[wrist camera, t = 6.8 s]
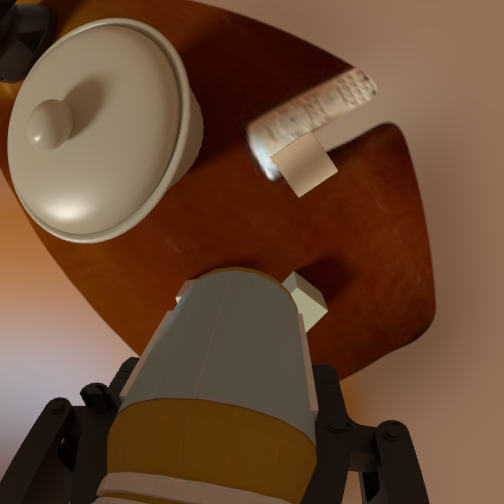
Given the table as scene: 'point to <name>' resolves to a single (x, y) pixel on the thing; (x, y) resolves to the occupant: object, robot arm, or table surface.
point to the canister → (102, 130)
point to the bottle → (218, 402)
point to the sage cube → (306, 299)
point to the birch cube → (304, 163)
